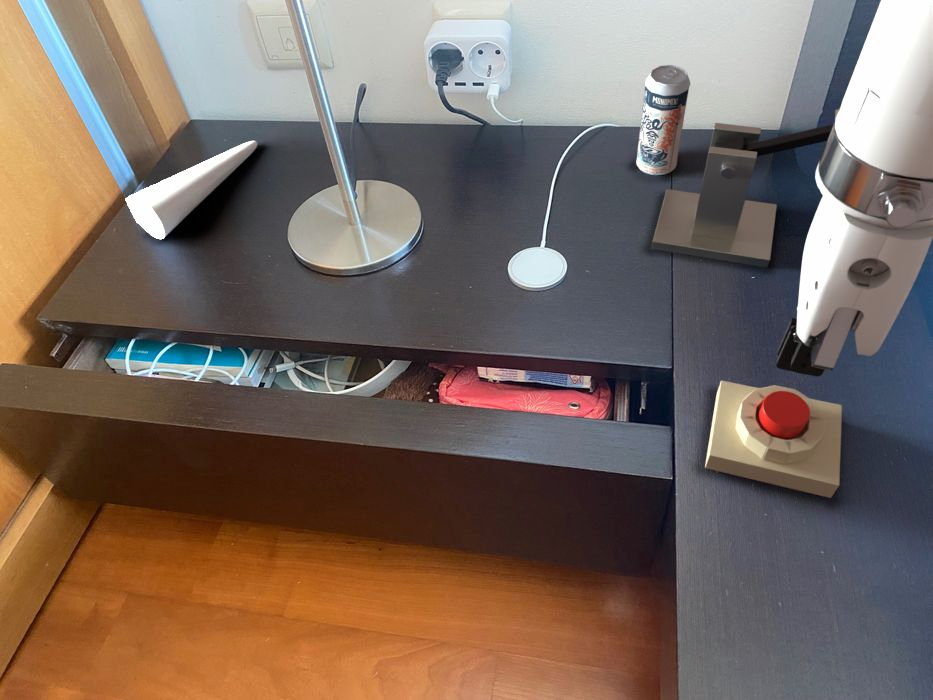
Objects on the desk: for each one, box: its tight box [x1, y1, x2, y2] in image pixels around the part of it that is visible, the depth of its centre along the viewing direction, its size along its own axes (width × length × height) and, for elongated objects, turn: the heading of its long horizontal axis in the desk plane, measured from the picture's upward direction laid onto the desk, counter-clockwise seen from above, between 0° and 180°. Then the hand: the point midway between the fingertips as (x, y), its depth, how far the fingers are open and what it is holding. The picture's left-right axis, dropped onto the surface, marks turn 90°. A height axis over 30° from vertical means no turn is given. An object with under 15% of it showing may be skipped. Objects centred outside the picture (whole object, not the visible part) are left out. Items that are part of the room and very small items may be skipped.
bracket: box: [651, 122, 778, 269], centre depth 75 cm, size 12×9×12 cm
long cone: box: [125, 140, 258, 240], centre depth 90 cm, size 6×6×19 cm
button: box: [758, 391, 810, 439], centre depth 59 cm, size 4×4×2 cm
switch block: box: [704, 380, 843, 499], centre depth 61 cm, size 10×8×4 cm
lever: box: [715, 108, 840, 157], centre depth 69 cm, size 12×5×2 cm, turn 71°
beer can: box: [635, 64, 691, 176], centre depth 83 cm, size 5×5×12 cm
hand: (798, 364), depth 54 cm, fingers closed
